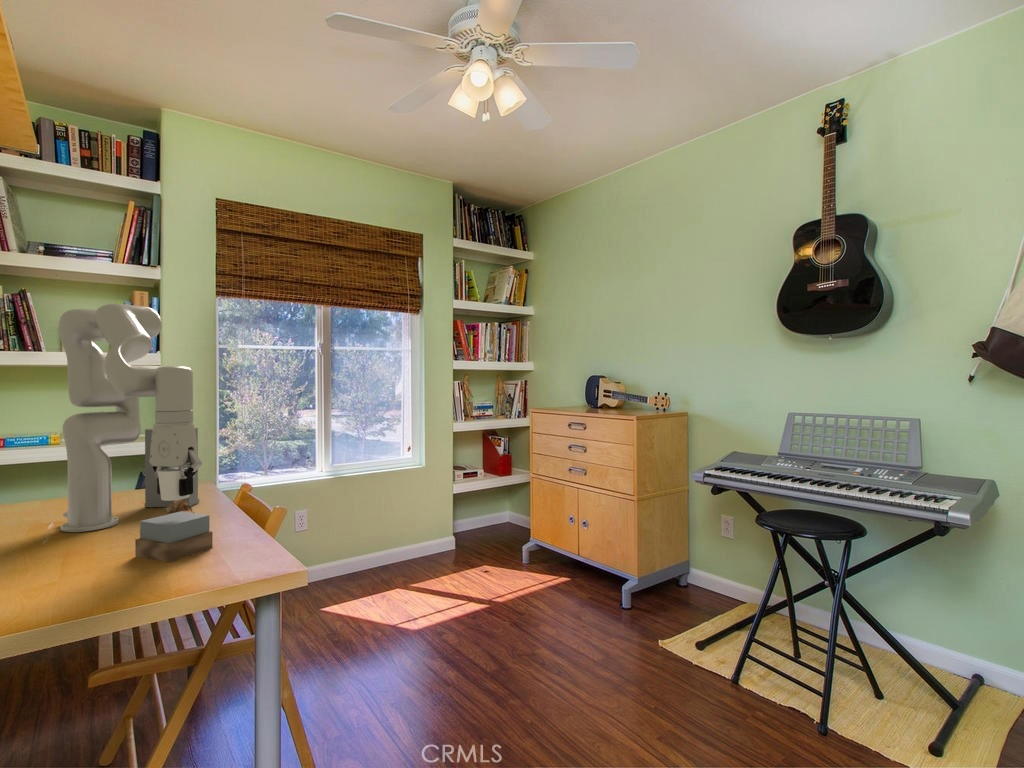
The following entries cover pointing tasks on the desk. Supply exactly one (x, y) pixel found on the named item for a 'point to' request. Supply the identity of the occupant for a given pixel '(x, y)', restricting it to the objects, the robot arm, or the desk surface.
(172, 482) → the beige cup
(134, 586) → the desk surface
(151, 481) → the tall grey upright box
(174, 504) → the lion figurine
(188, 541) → the base block
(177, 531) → the top block
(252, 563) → the desk surface
